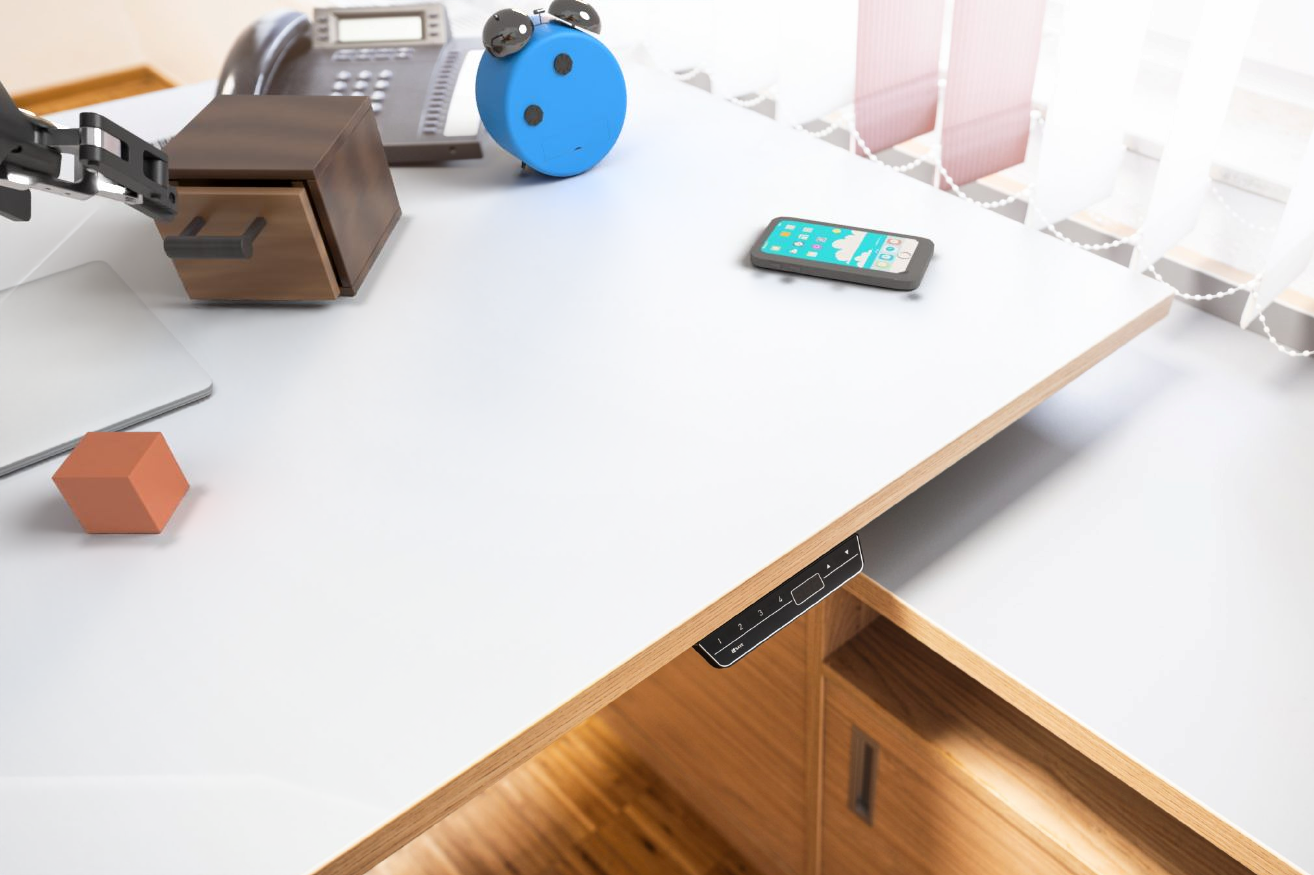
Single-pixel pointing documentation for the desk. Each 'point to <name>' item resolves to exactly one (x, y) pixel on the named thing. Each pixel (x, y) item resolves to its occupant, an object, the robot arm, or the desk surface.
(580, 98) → the alarm clock
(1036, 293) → the desk surface
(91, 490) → the block
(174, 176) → the cabinet
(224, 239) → the drawer
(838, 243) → the smartphone
